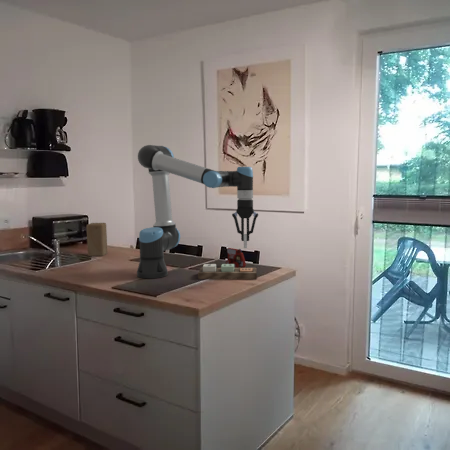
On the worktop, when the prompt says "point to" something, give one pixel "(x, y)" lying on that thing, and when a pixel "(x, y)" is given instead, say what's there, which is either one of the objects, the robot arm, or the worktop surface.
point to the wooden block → (97, 239)
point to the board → (227, 274)
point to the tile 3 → (246, 269)
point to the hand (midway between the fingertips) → (245, 247)
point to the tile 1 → (209, 268)
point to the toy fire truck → (235, 258)
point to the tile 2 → (227, 268)
